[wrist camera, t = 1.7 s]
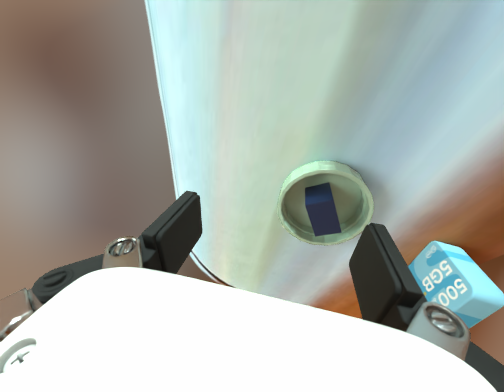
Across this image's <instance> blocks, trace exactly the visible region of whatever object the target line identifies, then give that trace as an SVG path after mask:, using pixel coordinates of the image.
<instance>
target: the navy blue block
mask: <svg viewBox="0 0 504 392" xmlns="http://www.w3.org/2000/svg"><path fill="white" fill-rule="evenodd" d="M305 207H306V210H307V213H308V216H309V219H310V222H311V225H312V229H313V232H314V235H315V237H316V236H323V235H330V234H337V233H342V231H341V227H340V223H339V219H338V215H337V211H336V207H335V203H334V199H333V195H332V191H331V187H330V183H329V182H327V183H323V184H319V185H315V186H310V187H306V188H305Z"/></svg>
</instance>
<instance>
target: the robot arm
mask: <svg viewBox="0 0 504 392" xmlns="http://www.w3.org/2000/svg"><path fill="white" fill-rule="evenodd" d="M201 234H202V220H201V206H200V196H199V195H197V193H196V192H191V191H186V192H185V193H184V194H182V195H181V196H180V197H179V198H178V199H177V200H176V201H175V202H174V203H173V204H172V205H171V206H170V207H169V208H168V209H167V210H166V211H165V212H164V213H163V214H161V215H160V216H159V217H158V218H157V219H156V220H155V221H154V222H153V223H152V224H151V225H150V226H149V227H148V228H147V229H146V230H145V231H144V232H143V233H142V234H141V235H140V236H139V237H138V238H136V237H133V236H126V237H121V238H118V239H116V240H114V241H112V242H111V243H110V244H108V246H107V247H106V248H105V250H104V254H101V255H98V256H95V257H92V258H89V259H85V260H82V261H79V262H75V263H72V264H69V265H65V266H63V267H59V268H57V269H54V270H51V271H50V272H48V273H46V274H44V275H43V276H42V277H40V278H39V279H38V280H37V281H36V282H35V283H34V286H33V287H32V288H31V289H29V290H27V289H26V288H24V289H22V290H20V291H18V292H16V293H13V294H11V295H9V296H7V297H5V298H3V299H1V300H0V392H504V365H502V364H501V363H499V362H498V361H497V360H495V359H494V358H493V357H491V356H490V355H489V354H487V353H486V352H485V351H483V350H482V349H481V348H479V347H478V346H476V345H475V344H474V343H473V342H471V341H470V339H471V333H470V331H469V329H468V327H467V325H466V324H465V323H464V321H463V320H462V319H461V318H460V317H459V316H458V315H457V314H455V313H454V312H453V311H451V310H450V309H448V308H447V307H445V306H443V305H441V304H438V303H435V302H428V301H427V299H426V297H425V296H424V294H423V292H422V290H421V288H420V287H419V285H418V283H417V282H416V280H415V278H414V276H413V275H412V273H411V271H410V269H409V268H408V266H407V264H406V262H405V261H404V259H403V257H402V255H401V254H400V252H399V250H398V248H397V247H396V245H395V243H394V241H393V240H392V238H391V236H390V234H389V233H388V231H387V229H386V227H385V226H384V225H381V224H375V223H370V224H369V225H366V226H365V228H364V230H363V232H362V235H361V237H360V239H359V241H358V243H357V246H356V248H355V250H354V252H353V254H352V257H351V259H350V262H349V267H350V271H351V275H352V279H353V283H354V287H355V291H356V295H357V298H358V302H359V306H360V310H361V314H362V318H363V320H362V319H358V318H354V317H351V316H347V315H343V314H339V313H335V312H331V311H327V310H323V309H318V308H314V307H310V306H306V305H302V304H298V303H294V302H290V301H286V300H282V299H278V298H274V297H269V296H265V295H261V294H257V293H253V292H249V291H244V290H240V289H236V288H232V287H228V286H223V285H219V284H215V283H211V282H206V281H202V280H198V279H193V278H189V277H185V276H180V275H176V273H177V272H178V270H179V269H180V267H181V266H182V264H183V263H184V261H185V260H186V258H187V257H188V255H189V253H190V252H191V250H192V249H193V247H194V246H195V244H196V243H197V241H198V240H199V238H200V237H201Z"/></svg>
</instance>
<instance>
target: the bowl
mask: <svg viewBox="0 0 504 392" xmlns="http://www.w3.org/2000/svg"><path fill="white" fill-rule="evenodd" d="M327 182H329V183H330V187H331V191H332V195H333V199H334V203H335V207H336V211H337V215H338V219H339V223H340V227H341V231H342V233H337V234H330V235H323V236H316V237H315V235H314V232H313V229H312V225H311V222H310V219H309V216H308V213H307V210H306V207H305V188H306V187H310V186H315V185H319V184H323V183H327ZM373 210H374V204H373V197H372V194H371V192H370V191H369V189H368V187H367V185H366V184H365V182H364V181H363V179H362V178H361V176H360V174H359V173H357V172H356V171H355V170H353V169H352V168H351V167H349V166H347V165H345V164H342V163H338V162H335V161H316V162H312V163H309V164H305V165H302V166H301V167H299V168H298V169H296V170H295V171H293V172H292V173H291V174H290V175H289V176H288V177H287V179H286V180H285V181H284V182H283V185H282V188H281V190H280V194H279V198H278V216H279V219H280V221H281V224H282V225H283V227H284V228H285V229H286V230H287V231H288V232H289V233H290V234H291V235H292V236H294V237H296V238H297V239H299V240H301V241H303V242H306V243H309V244H313V245H324V246H326V245H334V244H340V243H343V242H345V241H348V240H351V239H353V238H354V237H355V236H357V235H358V234H359V233H361V232H362V231H363V230H364V228H365V226H366V225H368V224H369V222H370V221H371V218H372V214H373Z"/></svg>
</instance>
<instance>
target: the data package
mask: <svg viewBox="0 0 504 392" xmlns="http://www.w3.org/2000/svg"><path fill="white" fill-rule="evenodd" d="M408 268H409V269H410V271H411V273H412V275H413V276H414V278H415V280H416V282H417V283H418V285H419V287H420V288H421V290H422V292H423V294H424V296H425V297H426V299H427V301H428V302H435V303H438V304H441V305H443V306H445V307H447V308H448V309H450V310H451V311H453V312H454V313H455V314H457V315H458V316H459V317H460V318H461V319H462V320H463V321H464V323H465V324H466V325H467V327H468V329H469V328H471V327H472V326H474V325H475V324H477V323H478V322H480V321H482V320H483V319H485V318H486V317H488V316H489V315H491V314H492V313H494V312H495V311H497V310H499V309H500V308H502V307H503V306H504V294H503V293H502V291H501V290H500V289H499V288H498V287H497V286H496V285H495V284H494V283H493V282H492V281H491V279H490V278H488V276H487V275H486V274H485V273H484V272H483V271H482V270H481V269H480V268H479V266H478V265H477V264H476V263H475V262H474V261H473V260H472V259H471V258H470V257H469V256H468V255H467V253H466V252H465V251H464V250H463V249H462V248H460V247H456V246H453V245H449V244H445V243H441V242H438V241H432V242H430V243H429V244H428V245H427V246H426V247H425V248H424V249H423V251H422V252H421V253H420V254H419V255H418V256H417V257H416V258H415V259H414V260H413V262H412V263H411V264H410V265H409V266H408Z"/></svg>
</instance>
